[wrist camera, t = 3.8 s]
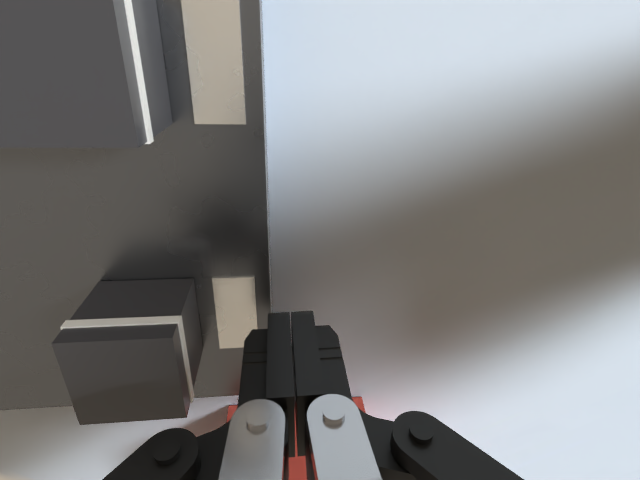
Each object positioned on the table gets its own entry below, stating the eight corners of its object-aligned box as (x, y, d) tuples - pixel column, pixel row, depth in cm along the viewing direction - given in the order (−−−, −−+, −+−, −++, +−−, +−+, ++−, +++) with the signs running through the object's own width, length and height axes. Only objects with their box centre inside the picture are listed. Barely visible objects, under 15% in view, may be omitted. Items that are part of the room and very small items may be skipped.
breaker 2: (194, 277, 13) (174, 336, 10) (204, 349, 14) (188, 418, 12) (96, 280, 13) (48, 342, 10) (116, 353, 14) (78, 426, 11)
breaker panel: (257, -99, 10) (253, -142, 8) (273, 357, 17) (273, 405, 15) (-405, -144, 9) (-643, -212, 7) (-97, 377, 16) (-160, 433, 14)
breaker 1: (157, -6, 9) (110, -28, 7) (174, 125, 11) (141, 150, 8) (20, -12, 9) (-86, -37, 6) (56, 124, 10) (-21, 150, 8)
